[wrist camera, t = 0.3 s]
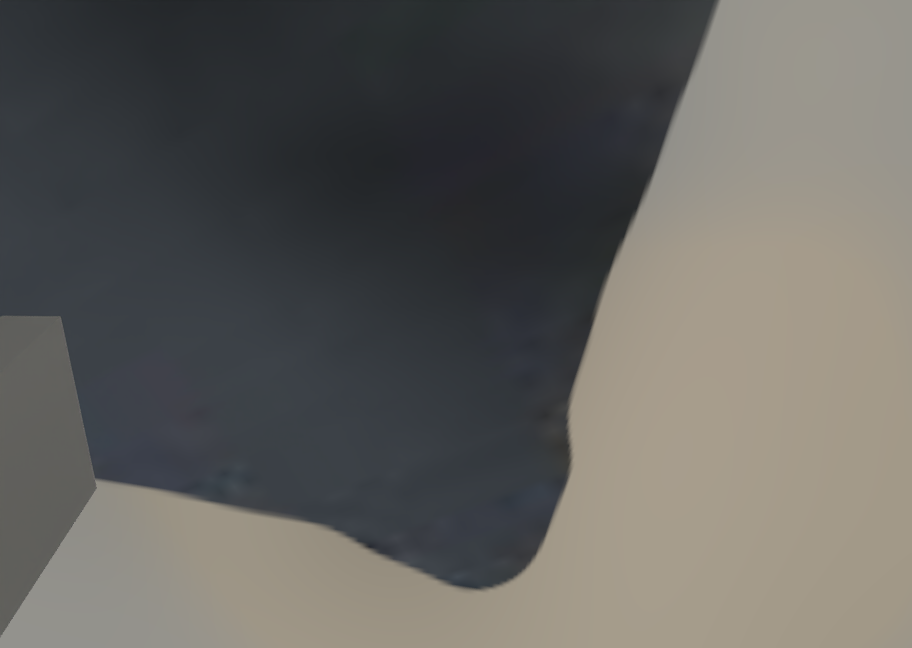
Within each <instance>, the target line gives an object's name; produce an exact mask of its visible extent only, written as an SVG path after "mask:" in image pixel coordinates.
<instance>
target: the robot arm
mask: <svg viewBox="0 0 912 648" xmlns="http://www.w3.org/2000/svg"><path fill="white" fill-rule="evenodd" d="M96 488H97V487H96V483H95V478H94V473H93V468H92V464H91V459H90V454H89V449H88V445H87V440H86V435H85V430H84V426H83V421H82V416H81V411H80V407H79V402H78V397H77V392H76V388H75V383H74V378H73V373H72V369H71V364H70V359H69V354H68V350H67V345H66V340H65V335H64V331H63V326H62V321H61V316H1V317H0V637H1V635H2V634H3V632H4V630H5V629H6V627H7V626H8V624H9V623H10V621H11V620H12V618H13V617H14V615H15V613H16V612H17V610H18V609H19V607H20V606H21V604H22V603H23V601H24V600H25V598H26V596H27V595H28V593H29V592H30V590H31V589H32V587H33V586H34V584H35V582H36V581H37V579H38V578H39V576H40V575H41V573H42V572H43V570H44V569H45V567H46V566H47V564H48V562H49V561H50V559H51V558H52V556H53V555H54V553H55V552H56V550H57V549H58V547H59V546H60V544H61V542H62V541H63V539H64V538H65V536H66V535H67V533H68V532H69V530H70V529H71V527H72V525H73V524H74V522H75V521H76V519H77V518H78V516H79V515H80V513H81V512H82V510H83V508H84V507H85V505H86V504H87V502H88V501H89V499H90V498H91V496H92V495H93V493H94V491H95V490H96Z"/></svg>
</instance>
